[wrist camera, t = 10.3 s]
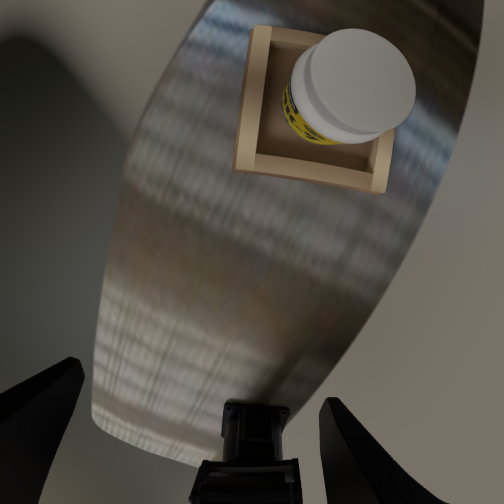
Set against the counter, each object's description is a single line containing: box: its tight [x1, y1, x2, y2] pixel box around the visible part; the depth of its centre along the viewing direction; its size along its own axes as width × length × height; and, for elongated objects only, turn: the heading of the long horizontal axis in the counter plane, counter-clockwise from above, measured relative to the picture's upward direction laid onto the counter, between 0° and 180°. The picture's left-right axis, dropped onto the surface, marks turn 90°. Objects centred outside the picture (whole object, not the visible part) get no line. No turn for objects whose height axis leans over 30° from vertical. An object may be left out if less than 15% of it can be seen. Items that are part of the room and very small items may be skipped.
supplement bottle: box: [281, 29, 416, 145], centre depth 12 cm, size 5×5×8 cm
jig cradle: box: [232, 25, 395, 195], centre depth 15 cm, size 10×10×2 cm
